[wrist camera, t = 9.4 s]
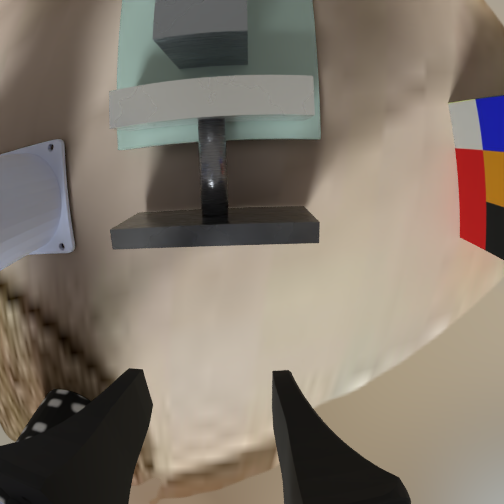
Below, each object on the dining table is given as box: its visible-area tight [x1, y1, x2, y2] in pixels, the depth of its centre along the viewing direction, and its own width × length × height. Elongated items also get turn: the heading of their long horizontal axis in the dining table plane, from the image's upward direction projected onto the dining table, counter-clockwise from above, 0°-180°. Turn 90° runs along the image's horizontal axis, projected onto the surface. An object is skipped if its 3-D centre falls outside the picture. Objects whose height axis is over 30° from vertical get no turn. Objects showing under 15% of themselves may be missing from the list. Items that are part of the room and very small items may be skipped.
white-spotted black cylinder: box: [0, 389, 91, 504], centre depth 16 cm, size 8×8×20 cm
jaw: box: [109, 75, 319, 249], centre depth 15 cm, size 10×8×4 cm
